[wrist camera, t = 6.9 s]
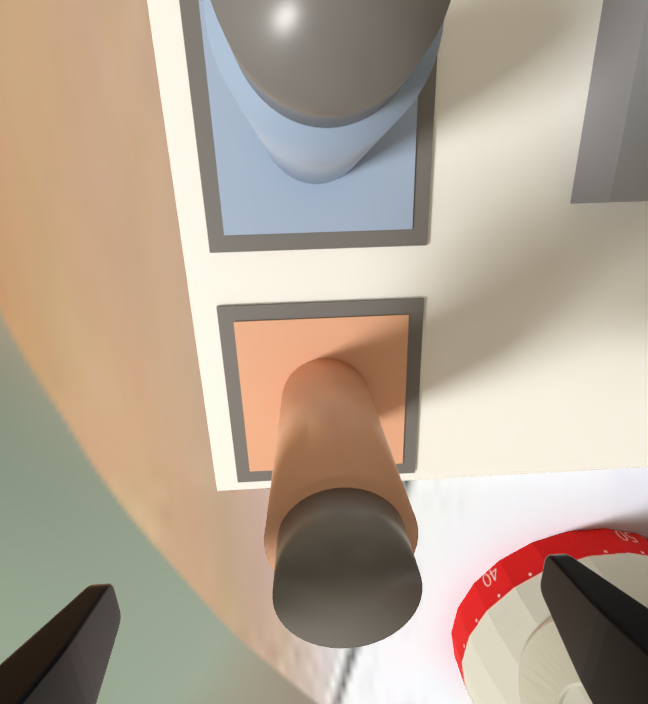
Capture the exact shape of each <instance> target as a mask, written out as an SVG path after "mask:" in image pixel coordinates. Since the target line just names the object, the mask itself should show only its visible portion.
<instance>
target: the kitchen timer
mask: <svg viewBox="0 0 648 704" xmlns="http://www.w3.org/2000/svg"><path fill="white" fill-rule="evenodd" d="M551 554H568V555H570V556H572V557H573V558H575V559H576V560H578V561H579V562H581V563H582V564H584V565H585V566H587V567H588V568H589V569H591V570H592V571H594V572H595V573H597V574H598V575H600V576H601V577H603V578H604V579H606V580H607V581H609V582H610V583H612V584H613V585H615V586H616V587H618V588H619V589H621V590H622V591H624V592H625V593H627V594H628V595H629V596H631V597H632V598H634V599H635V600H637V601H638V602H640V603H641V604H643V605H644V606H646V607H647V608H648V539H647V538H645V537H643V536H641V535H639V534H636V533H630V532H624V531H618V530H611V529H605V528H602V529H591V530H579V531H568V532H564V533H561V534H558V535H555V536H552V537H548V538H545V539H542V540H539V541H535V542H532V543H530V544H528V545H527V546H525V547H523V548H521V549H519V550H518V551H516V552H514V553H512V554H510V555H509V556H507V557H505V558H503V559H501V560H500V561H498V562H497V563H496V564H495V565H494V566H493V567H492V568H491V569H490V570H488V571H487V572H486V573H485V574H484V575H483V576H482V577H481V578H480V579H478V580H477V581H476V582H475V583H474V584H473V586H472V587H471V589H470V590H469V592H468V593H467V595H466V597H465V598H464V600H463V601H462V603H461V604H460V606H459V607H458V610H457V614H456V617H455V621H454V625H453V629H452V640H453V647H454V655H455V658H456V661H457V664H458V667H459V670H460V673H461V676H462V679H463V682H464V684H465V687H466V689H467V692H468V694H469V696H470V698H471V701H472V703H473V704H593V703H592V702H591V700H590V698H589V696H588V694H587V692H586V690H585V689H584V687H583V685H582V683H581V681H580V679H579V677H578V675H577V672H576V670H575V668H574V666H573V664H572V662H571V659H570V657H569V655H568V653H567V650H566V648H565V646H564V643H563V641H562V639H561V637H560V634H559V632H558V630H557V628H556V625H555V623H554V621H553V619H552V616H551V614H550V612H549V609H548V607H547V605H546V603H545V600H544V598H543V596H542V592H541V587H540V582H541V577H542V572H543V567H544V562H545V558H546V557H547V556H548V555H551Z"/></svg>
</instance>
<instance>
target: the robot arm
mask: <svg viewBox="0 0 648 704" xmlns="http://www.w3.org/2000/svg"><path fill="white" fill-rule="evenodd" d="M540 587H541V592H542V596H543V598H544V600H545V603H546V605H547V607H548V609H549V612H550V614H551V616H552V619H553V621H554V623H555V625H556V628H557V630H558V632H559V634H560V637H561V639H562V641H563V643H564V646H565V648H566V650H567V653H568V655H569V657H570V659H571V662H572V664H573V666H574V668H575V670H576V672H577V675H578V677H579V679H580V681H581V683H582V685H583V687H584V689H585V690H586V692H587V694H588V696H589V698H590V700H591V702H592V703H593V704H648V608H647V607H646V606H644V605H643V604H641V603H640V602H638V601H637V600H635V599H634V598H632V597H631V596H629V595H628V594H627V593H625V592H624V591H622V590H621V589H619V588H618V587H616V586H615V585H613V584H612V583H610V582H609V581H607V580H606V579H604V578H603V577H601V576H600V575H598V574H597V573H595V572H594V571H592V570H591V569H589V568H588V567H587V566H585V565H584V564H582V563H581V562H579V561H578V560H576V559H575V558H573V557H572V556H570V555H568V554H551V555H548V556H547V557H546V558H545V562H544V567H543V572H542V577H541V582H540ZM119 624H120V610H119V606H118V602H117V598H116V594H115V591H114V588H113V586H112V585H111V584H96V585H91V586H89V587H87V588H86V589H84V590H83V591H82V592H81V593H80V594H79V595H78V596H77V597H76V598H75V599H73V600H72V601H71V602H70V603H69V604H68V605H67V606H65V607H64V608H63V609H62V610H61V611H60V612H59V613H58V614H57V615H55V616H54V617H53V618H52V619H51V620H50V621H49V622H48V623H46V624H45V625H44V626H43V627H42V628H41V629H40V630H39V631H37V632H36V633H35V634H34V635H33V636H32V637H31V638H30V639H29V640H27V641H26V642H25V643H24V644H23V645H22V646H21V647H19V648H18V649H17V650H16V651H15V652H14V653H13V654H12V655H11V656H9V658H7V659H6V660H5V661H4V662H3V663H2V664H1V665H0V704H96V702H97V699H98V695H99V692H100V688H101V685H102V682H103V679H104V675H105V672H106V669H107V665H108V662H109V658H110V655H111V651H112V648H113V645H114V642H115V638H116V635H117V631H118V628H119Z"/></svg>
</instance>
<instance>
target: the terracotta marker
mask: <svg viewBox="0 0 648 704" xmlns="http://www.w3.org/2000/svg"><path fill="white" fill-rule="evenodd" d="M417 540H418V526H417V521H416V518H415V515H414V513H413V510H412V507H411V505H410V502H409V499H408V496H407V494H406V491H405V488H404V486H403V483H402V480H401V477H400V475H399V472H398V469H397V467H396V464H395V461H394V458H393V456H392V453H391V450H390V448H389V445H388V442H387V439H386V437H385V434H384V431H383V429H382V426H381V423H380V420H379V418H378V415H377V412H376V410H375V407H374V404H373V401H372V399H371V396H370V393H369V391H368V388H367V385H366V382H365V380H364V379H363V377H362V375H361V374H360V373H359V372H358V371H357V370H356V369H355V368H354V367H353V366H351V365H349V364H348V363H346V362H343V361H341V360H337V359H331V358H322V359H316V360H312V361H309V362H307V363H305V364H303V365H301V366H300V367H298V368H297V369H296V370H295V371H294V372H293V373H292V374H291V375H290V376H289V378H288V379H287V381H286V383H285V385H284V388H283V393H282V400H281V408H280V416H279V424H278V432H277V440H276V448H275V456H274V464H273V472H272V480H271V488H270V496H269V504H268V512H267V519H266V527H265V535H264V546H265V552H266V555H267V558H268V561H269V563H270V565H271V566H272V568H273V569H274V583H273V605H274V609H275V611H276V614H277V616H278V618H279V619H280V621H281V622H282V623H283V625H284V626H285V627H286V628H287V629H288V630H289V631H290V632H292V633H293V634H294V635H296V636H297V637H299V638H301V639H303V640H305V641H307V642H310V643H312V644H316V645H319V646H324V647H330V648H353V647H360V646H365V645H369V644H372V643H375V642H378V641H380V640H383V639H385V638H387V637H388V636H390V635H392V634H394V633H395V632H396V631H398V630H399V629H400V628H402V627H403V626H404V625H405V624H406V623H407V622H408V621H409V620H410V619H411V617H412V616H413V614H414V613H415V612H416V610H417V608H418V606H419V603H420V600H421V595H422V580H421V576H420V572H419V569H418V566H417V563H416V560H415V557H414V552H415V549H416V546H417Z"/></svg>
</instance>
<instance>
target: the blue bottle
mask: <svg viewBox="0 0 648 704" xmlns="http://www.w3.org/2000/svg"><path fill="white" fill-rule="evenodd" d="M450 1H451V0H204V7H205V20H206V26H207V33H208V38H209V41H210V45H211V49H212V53H213V56H214V58H215V61H216V63H217V66H218V69H219V71H220V73H221V75H222V77H223V79H224V81H225V83H226V85H227V86H228V88H229V90H230V91H231V93H232V95H233V96H234V98H235V100H236V101H237V103H238V104H239V106H240V108H241V109H242V111H243V113H244V114H245V116H246V117H247V119H248V121H249V122H250V124H251V126H252V127H253V129H254V130H255V132H256V134H257V135H258V137H259V139H260V140H261V142H262V144H263V145H264V147H265V148H266V150H267V152H268V153H269V155H270V157H271V158H272V160H273V161H274V162H275V164H276V165H277V166H278V167H279V168H280V169H281V170H282V171H283V172H284V173H286V174H287V175H288V176H290V177H292V178H294V179H296V180H298V181H301V182H304V183H309V184H323V183H328V182H331V181H334V180H336V179H338V178H340V177H342V176H343V175H345V174H346V173H347V172H349V171H350V170H351V169H352V168H353V167H354V166H355V165H356V164H357V163H358V162H359V160H360V159H361V158H362V157H363V156H364V155H365V154H366V153H367V152H368V151H369V150H370V149H371V148H372V147H373V146H374V145H375V144H376V142H377V141H378V140H379V139H380V138H381V137H382V136H383V135H384V134H385V133H386V132H387V131H388V130H389V129H390V128H391V127H392V126H393V125H394V123H395V122H396V121H397V120H398V119H399V118H400V117H401V116H402V115H403V114H404V113H405V112H406V111H407V109H408V108H409V107H410V106H411V104H412V103H413V102H414V101H415V99H416V98H417V96H418V95H419V93H420V92H421V90H422V88H423V87H424V85H425V83H426V81H427V79H428V77H429V75H430V73H431V71H432V68H433V66H434V63H435V60H436V57H437V54H438V51H439V46H440V42H441V38H442V33H443V24H444V18H445V16H446V13H447V10H448V7H449V4H450Z"/></svg>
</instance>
